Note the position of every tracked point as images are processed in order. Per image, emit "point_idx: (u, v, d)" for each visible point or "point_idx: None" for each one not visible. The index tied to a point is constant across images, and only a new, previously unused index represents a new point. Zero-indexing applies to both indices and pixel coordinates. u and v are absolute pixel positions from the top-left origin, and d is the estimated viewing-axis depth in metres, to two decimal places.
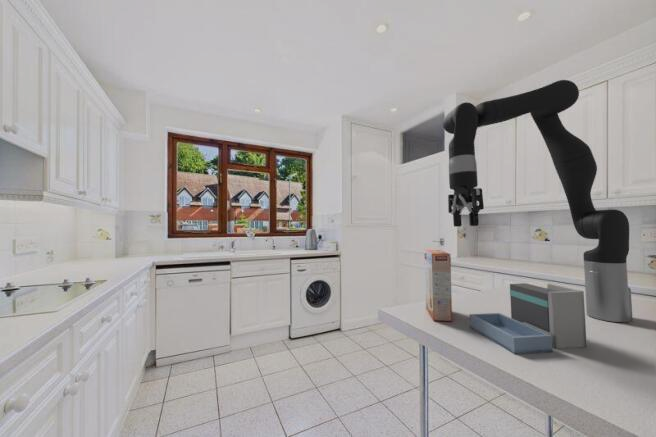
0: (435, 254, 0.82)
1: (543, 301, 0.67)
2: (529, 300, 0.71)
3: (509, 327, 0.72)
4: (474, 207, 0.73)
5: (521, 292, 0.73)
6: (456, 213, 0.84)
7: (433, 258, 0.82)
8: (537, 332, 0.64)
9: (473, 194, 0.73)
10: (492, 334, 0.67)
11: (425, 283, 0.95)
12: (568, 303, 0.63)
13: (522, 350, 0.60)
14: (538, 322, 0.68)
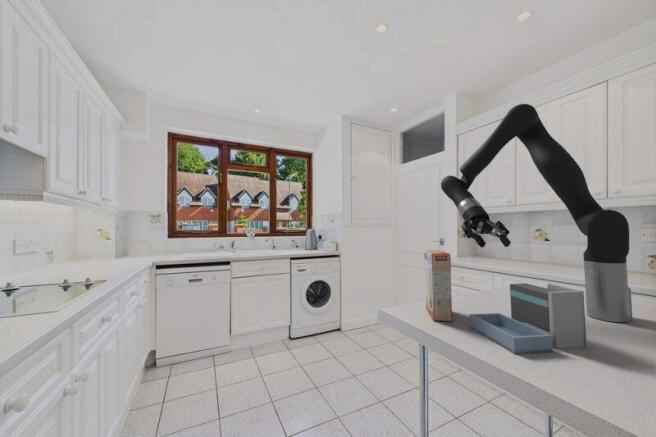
0: (435, 254, 0.82)
1: (543, 301, 0.67)
2: (529, 300, 0.71)
3: (509, 327, 0.72)
4: None
5: (521, 292, 0.73)
6: (500, 236, 0.90)
7: (433, 258, 0.82)
8: (537, 332, 0.64)
9: None
10: (492, 334, 0.67)
11: (425, 283, 0.95)
12: (568, 303, 0.63)
13: (522, 350, 0.60)
14: (538, 322, 0.68)
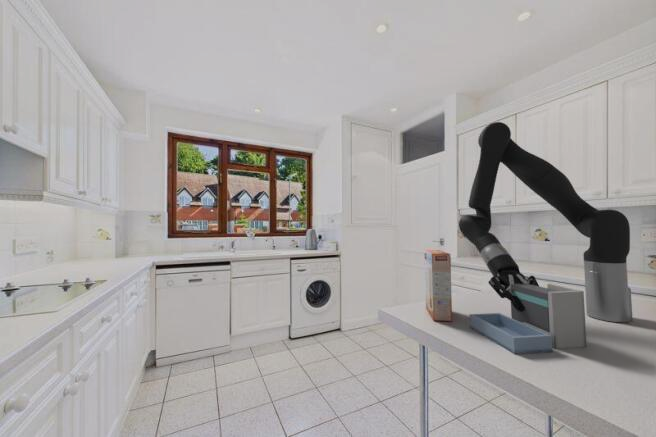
0: (435, 254, 0.82)
1: (543, 301, 0.67)
2: (529, 300, 0.71)
3: (509, 327, 0.72)
4: None
5: (521, 292, 0.73)
6: None
7: (433, 258, 0.82)
8: (537, 332, 0.64)
9: None
10: (492, 334, 0.67)
11: (425, 283, 0.95)
12: (568, 303, 0.63)
13: (522, 350, 0.60)
14: (539, 322, 0.68)
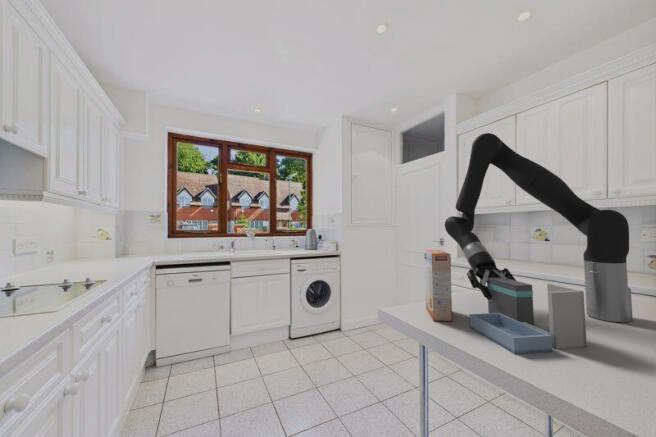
0: (435, 254, 0.82)
1: (512, 292, 0.77)
2: (502, 291, 0.81)
3: (509, 327, 0.72)
4: None
5: (496, 285, 0.83)
6: None
7: (433, 258, 0.82)
8: (537, 332, 0.64)
9: None
10: (492, 334, 0.67)
11: (425, 283, 0.95)
12: (568, 303, 0.63)
13: (522, 350, 0.60)
14: (509, 311, 0.78)
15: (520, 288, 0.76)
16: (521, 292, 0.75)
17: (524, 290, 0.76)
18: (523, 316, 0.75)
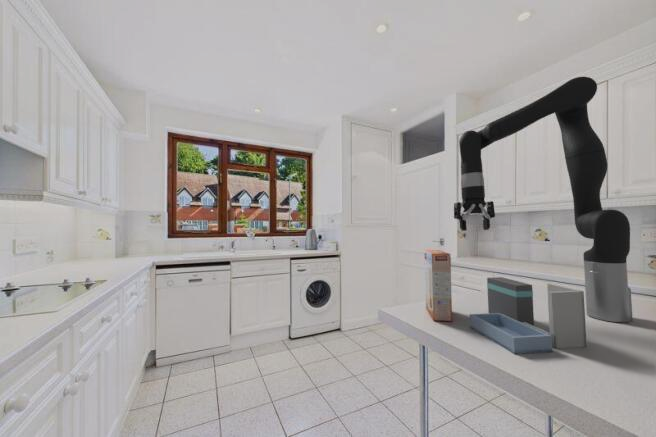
0: (435, 254, 0.82)
1: (512, 292, 0.77)
2: (502, 291, 0.81)
3: (509, 327, 0.72)
4: None
5: (496, 285, 0.83)
6: (484, 218, 0.98)
7: (433, 258, 0.82)
8: (537, 332, 0.64)
9: None
10: (492, 334, 0.67)
11: (425, 283, 0.95)
12: (568, 303, 0.63)
13: (522, 350, 0.60)
14: (509, 311, 0.78)
15: (520, 288, 0.76)
16: (521, 292, 0.75)
17: (524, 290, 0.76)
18: (523, 316, 0.75)
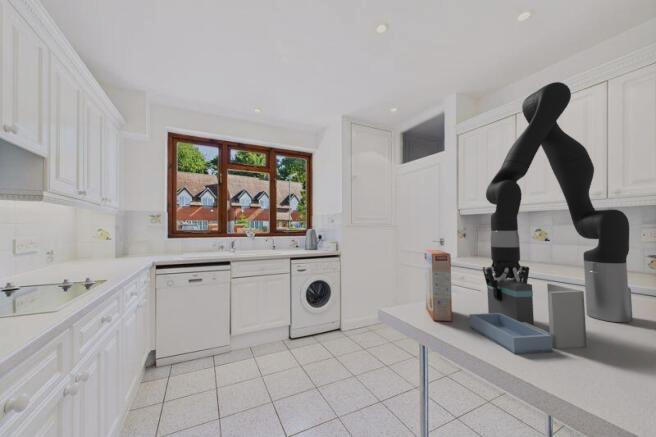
0: (435, 254, 0.82)
1: (512, 292, 0.77)
2: (502, 291, 0.81)
3: (509, 327, 0.72)
4: None
5: None
6: None
7: (433, 258, 0.82)
8: (537, 332, 0.64)
9: None
10: (492, 334, 0.67)
11: (425, 283, 0.95)
12: (568, 303, 0.63)
13: (522, 350, 0.60)
14: (509, 310, 0.78)
15: (519, 288, 0.76)
16: (521, 292, 0.76)
17: (524, 290, 0.76)
18: (522, 316, 0.75)
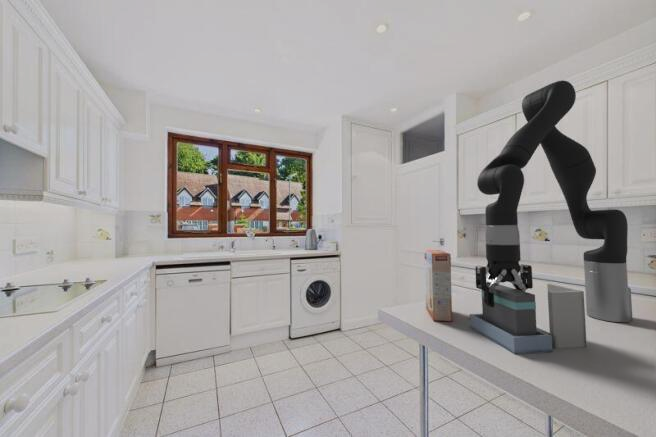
0: (435, 254, 0.82)
1: (511, 303, 0.63)
2: (499, 302, 0.67)
3: None
4: None
5: None
6: (517, 289, 0.70)
7: (433, 258, 0.82)
8: (537, 332, 0.64)
9: None
10: (492, 334, 0.67)
11: (425, 283, 0.95)
12: (568, 303, 0.63)
13: (522, 350, 0.60)
14: (507, 325, 0.65)
15: (520, 299, 0.62)
16: (522, 303, 0.62)
17: (525, 301, 0.62)
18: (523, 332, 0.62)
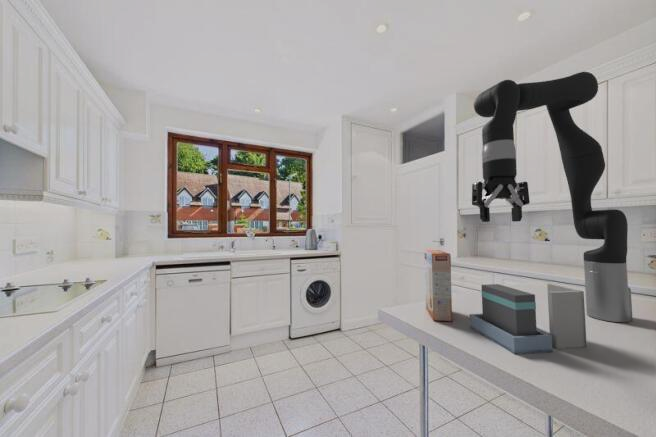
0: (435, 254, 0.82)
1: (511, 303, 0.63)
2: (499, 302, 0.67)
3: None
4: None
5: (491, 293, 0.70)
6: (514, 206, 0.70)
7: (433, 258, 0.82)
8: (537, 332, 0.64)
9: None
10: (492, 334, 0.67)
11: (425, 283, 0.95)
12: (568, 303, 0.63)
13: (522, 350, 0.60)
14: (507, 325, 0.65)
15: (520, 299, 0.62)
16: (522, 303, 0.62)
17: (525, 301, 0.62)
18: (523, 332, 0.62)
